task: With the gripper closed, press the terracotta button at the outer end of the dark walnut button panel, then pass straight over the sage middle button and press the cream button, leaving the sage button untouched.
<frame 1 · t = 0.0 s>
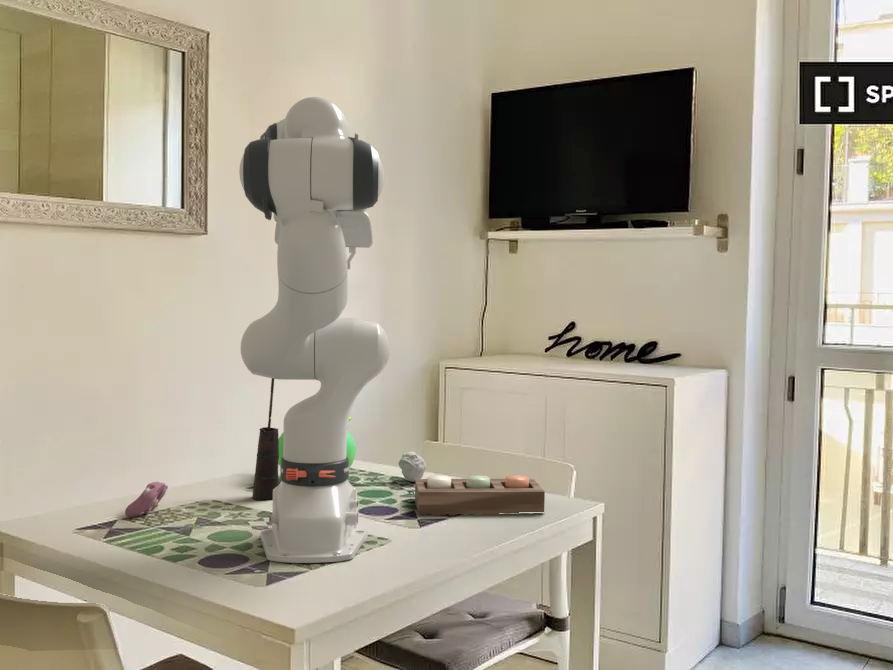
hand: (323, 268, 187), 48 cm above the table, fingers open, 8 cm apart
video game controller: (147, 513, 175), on the table
butter churn: (263, 499, 187), on the table
cream button: (439, 484, 182), point 5 cm above the table, slide at 0.0 cm
toy bird: (315, 481, 206), on the table
button panel: (477, 506, 183), on the table
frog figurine: (412, 482, 206), on the table
sage button: (478, 483, 183), point 5 cm above the table, slide at 0.0 cm
terracotta button: (517, 483, 184), point 5 cm above the table, slide at 0.0 cm
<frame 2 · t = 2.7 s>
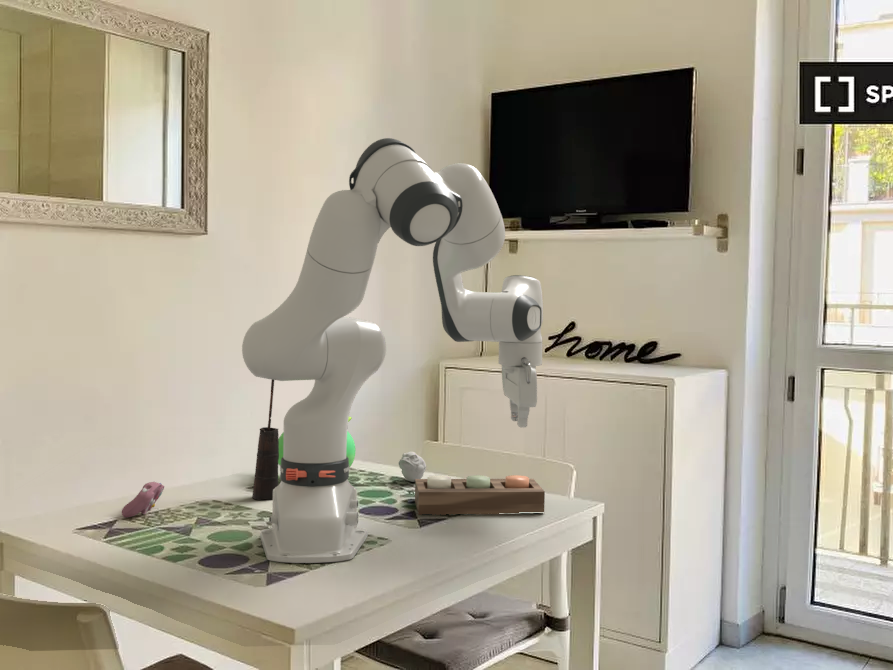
hand: (518, 423, 183), 17 cm above the table, fingers open, 7 cm apart
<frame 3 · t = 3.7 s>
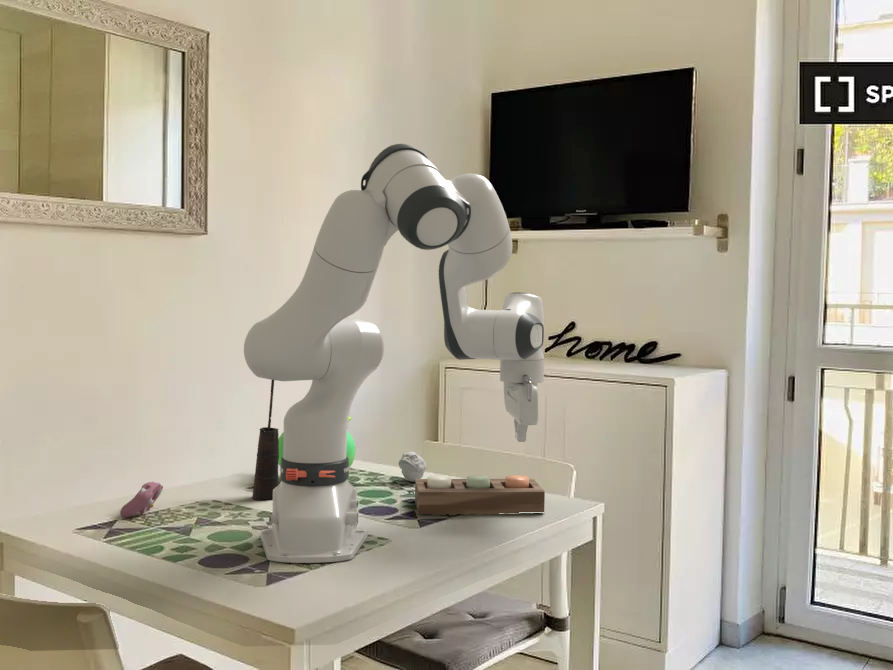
hand: (520, 440, 183), 14 cm above the table, fingers closed
nothing on the table moved.
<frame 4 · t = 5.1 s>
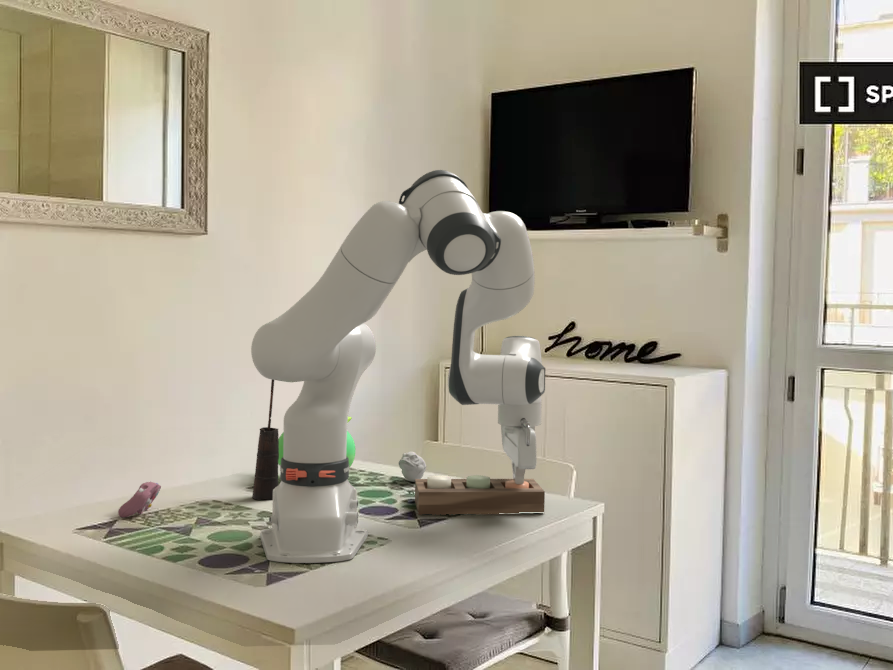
hand: (518, 482, 184), 5 cm above the table, fingers closed, pressing on terracotta button
terracotta button: (517, 488, 184), point 4 cm above the table, slide at 1.1 cm, touching gripper
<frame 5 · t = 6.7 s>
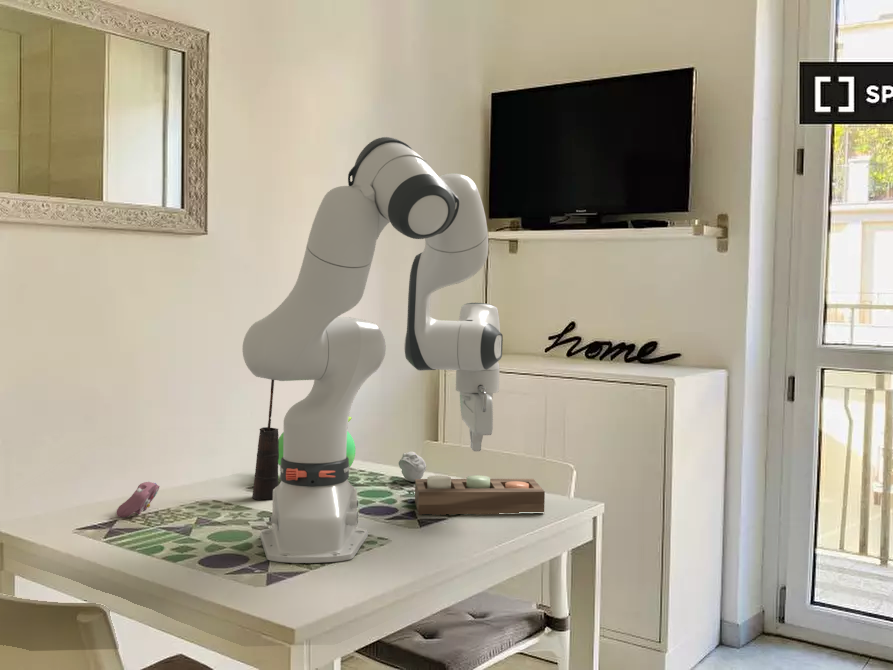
hand: (475, 450, 183), 12 cm above the table, fingers closed
terracotta button: (516, 489, 184), point 3 cm above the table, slide at 1.3 cm
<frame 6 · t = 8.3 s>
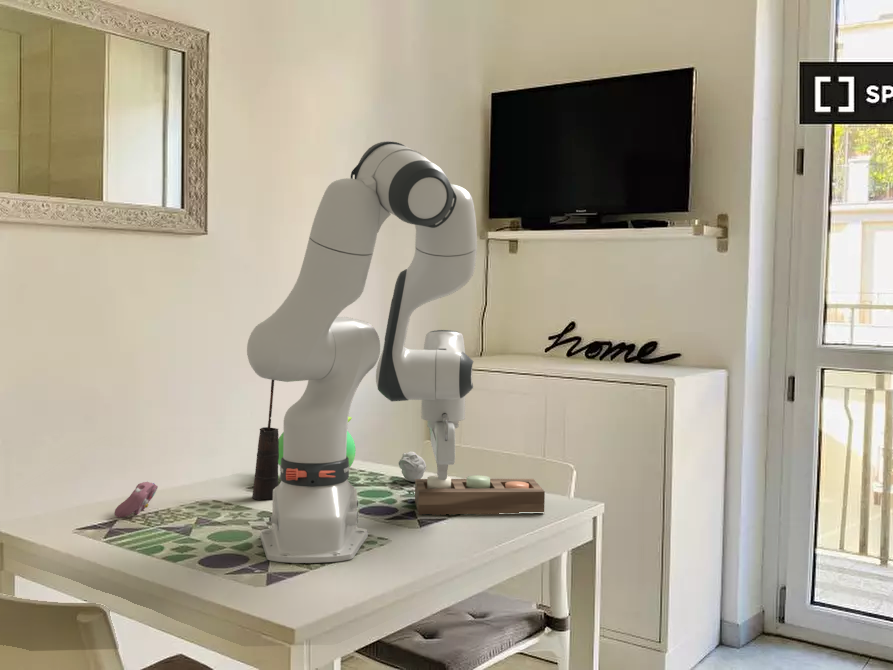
hand: (442, 478, 182), 6 cm above the table, fingers closed, pressing on cream button
cream button: (439, 484, 182), point 5 cm above the table, slide at 0.0 cm, touching gripper
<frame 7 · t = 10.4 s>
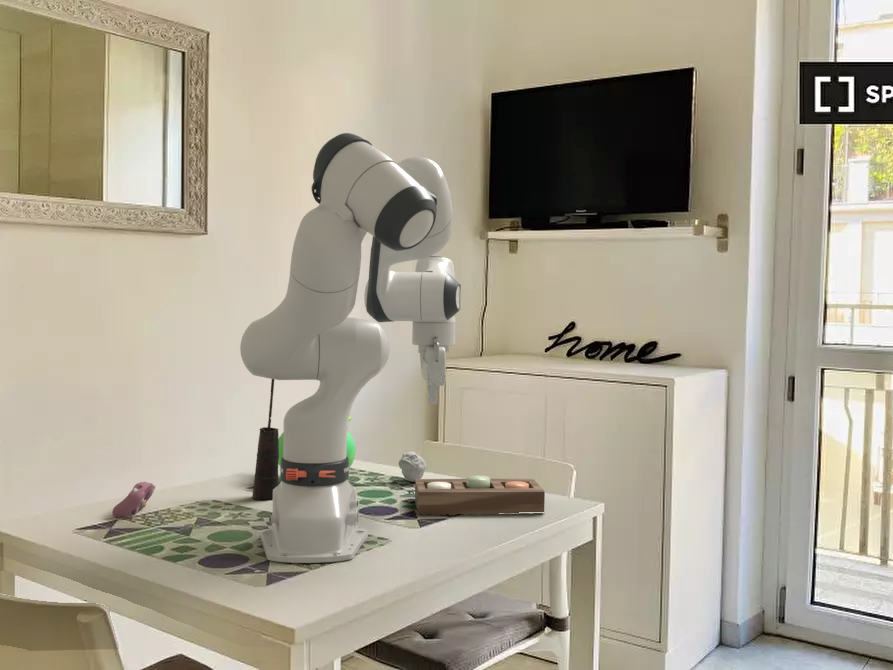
hand: (432, 403, 185), 21 cm above the table, fingers closed
cream button: (439, 490, 182), point 3 cm above the table, slide at 1.3 cm
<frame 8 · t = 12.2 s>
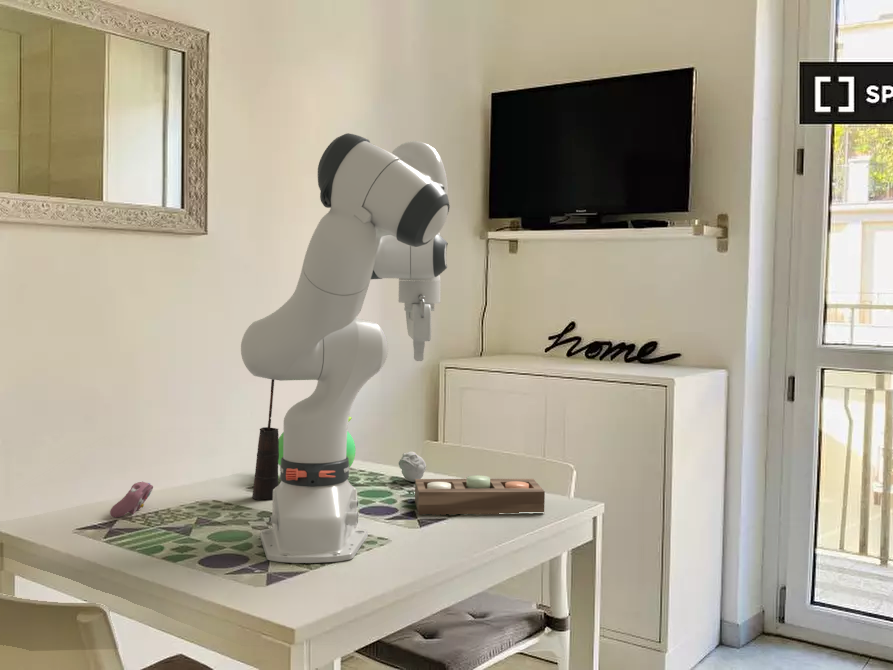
hand: (418, 360, 190), 29 cm above the table, fingers closed
at the end: terracotta button slide at 1.3 cm; cream button slide at 1.3 cm; sage button slide at 0.0 cm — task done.
